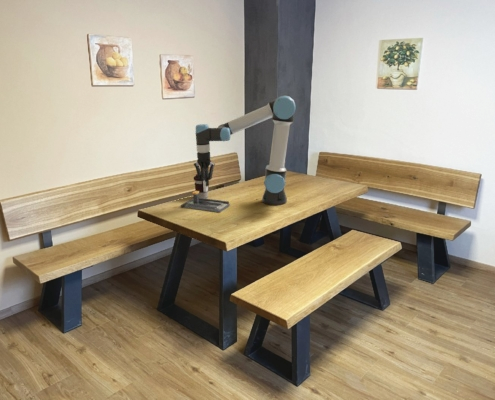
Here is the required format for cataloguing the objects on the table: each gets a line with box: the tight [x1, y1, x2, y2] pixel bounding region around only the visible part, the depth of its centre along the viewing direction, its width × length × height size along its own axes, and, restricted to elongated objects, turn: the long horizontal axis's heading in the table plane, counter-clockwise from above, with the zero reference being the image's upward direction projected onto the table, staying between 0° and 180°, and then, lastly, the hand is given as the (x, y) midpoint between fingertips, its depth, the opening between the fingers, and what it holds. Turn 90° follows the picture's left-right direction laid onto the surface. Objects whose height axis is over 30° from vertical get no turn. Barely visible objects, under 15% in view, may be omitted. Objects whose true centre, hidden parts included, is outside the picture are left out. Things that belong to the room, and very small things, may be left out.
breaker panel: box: [184, 200, 231, 213], centre depth 249 cm, size 26×13×2 cm, turn 68°
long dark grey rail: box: [199, 198, 230, 204], centre depth 258 cm, size 24×3×2 cm, turn 68°
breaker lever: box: [192, 191, 199, 203], centre depth 250 cm, size 2×4×7 cm, turn 158°
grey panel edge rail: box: [180, 198, 193, 209], centre depth 253 cm, size 2×14×2 cm, turn 158°
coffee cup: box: [193, 173, 209, 199], centre depth 266 cm, size 10×10×15 cm
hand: (205, 191), depth 246 cm, fingers closed
